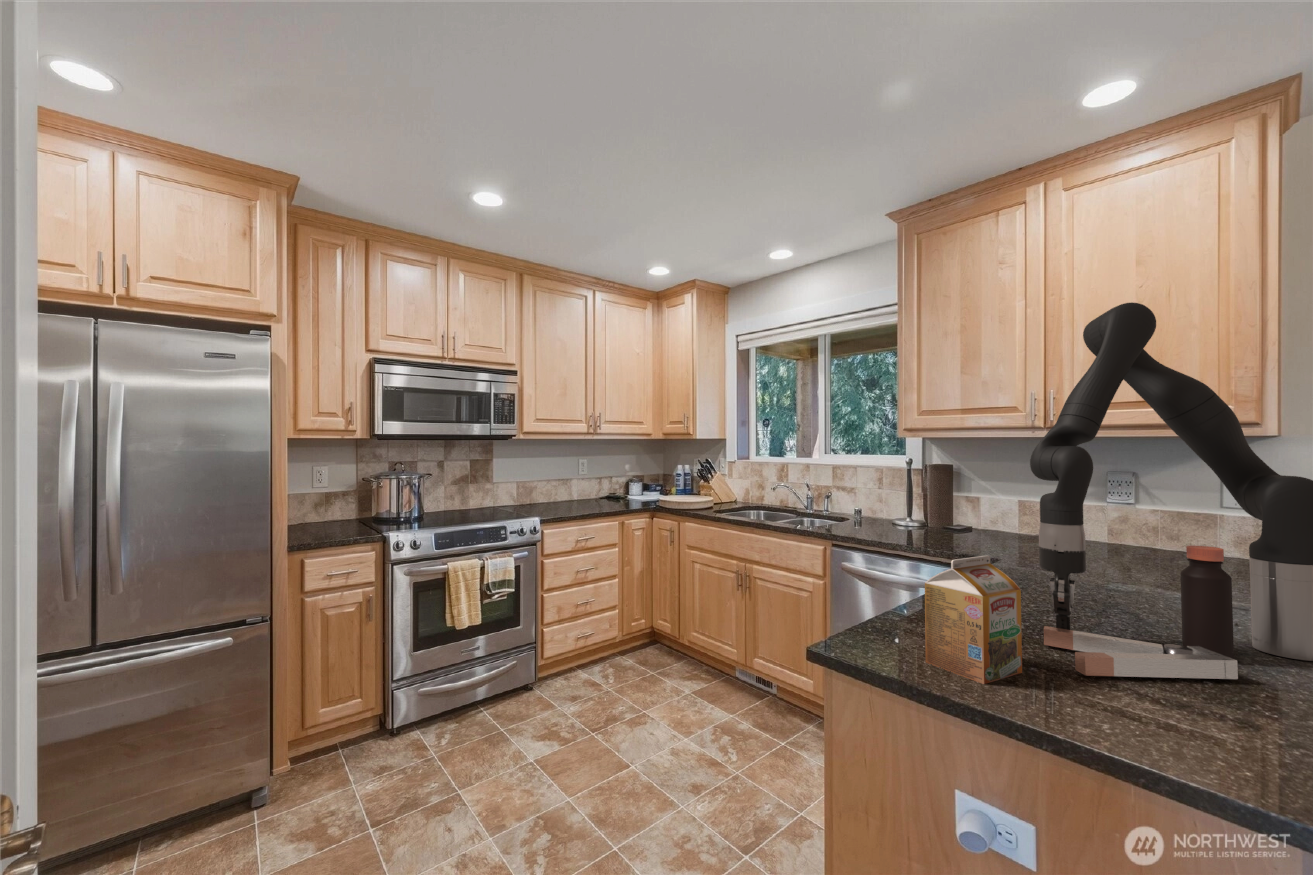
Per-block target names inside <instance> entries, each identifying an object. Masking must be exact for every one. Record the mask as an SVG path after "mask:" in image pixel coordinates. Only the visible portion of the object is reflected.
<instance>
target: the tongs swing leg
mask: <svg viewBox="0 0 1313 875" xmlns="http://www.w3.org/2000/svg"><path fill="white" fill-rule="evenodd" d="M1043 645H1044V646H1050V647H1055V648H1061V649H1064V650H1065V649H1067V650H1072V651H1076V652H1097V653H1143V654H1189V655H1193V650H1192V649H1191V648H1188V647H1185V646H1182V644H1181V645H1179V644H1173V643H1165V644H1164V645H1163V644H1162V643H1161V644H1160V643H1154V642H1150V641H1149V642H1148V641H1143V640H1142V641H1141V640H1135V639H1130V638H1124V637H1116V636H1110V635H1103V634H1098V633H1097V634H1096V633H1092V632H1085V631H1078V630H1074V629H1073V630H1072V629H1070V630H1067V629H1060V628H1056V627H1055V626H1054V627H1053V626H1047V625H1044V626H1043Z"/></svg>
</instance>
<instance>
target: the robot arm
mask: <svg viewBox="0 0 1313 875" xmlns="http://www.w3.org/2000/svg"><path fill="white" fill-rule="evenodd" d="M1156 328H1157V318H1156V316H1155V313H1154V312H1153V311H1152V310H1151V308H1149V307H1148V306H1146V305H1144V304H1142V303H1139V302H1134V301H1133V302H1132V301H1131V302H1125V303H1121V304H1119V305H1116V306H1115V307H1112V308H1110V309H1108V310H1107V311H1105V312H1103V313H1102V314H1100V315H1098V317H1095V318H1094V319H1092V320H1091V321H1090V322H1088V324H1086V326H1084V329H1083V332H1082V334H1083V335H1082V338H1083V342H1084V345H1085V346H1086V348H1088V350H1089V351H1090V352H1091V353H1092V354H1093V355H1094V356H1095V358H1094V359H1093V361H1092V363H1091V365H1090V367H1088V369H1087V371H1086V372H1085V373H1084V374H1083V376H1082V377H1081V378H1080V379H1079V381H1078V382H1077V383H1076V385H1075V386H1074V387H1073V389H1072V390H1071V392H1070V394H1069V395H1068V397H1067V399H1066V400H1065V402H1064V404H1063V406H1062V408H1061V411H1060V413H1059V415H1058V417H1057V420H1056V422H1055V424H1054V425H1053V426H1052V427H1051V428H1050V429H1049V430H1048V431H1047V433H1046V434H1045V435H1044V436H1043V438H1042V439H1041V440H1040V441H1039V442H1038V444H1037V445H1036V446H1035V447H1034V449H1033V451H1032V453H1031V456H1030V459H1029V465H1030V466H1029V467H1030V470H1031V472H1032V474H1033V475H1034V476H1035V478H1037V479H1040V480H1043V481H1052V482H1053V481H1054V482H1057V486H1056V487H1055V488H1056V489H1055V491H1054V492H1049V493H1048V492H1047V493H1044V494H1043V495H1042V496H1041V497H1040V499H1039V518H1040V519H1039V529H1038V530H1039V531H1038V558H1039V559H1038V565H1039V568H1041V569H1042V570H1045V571H1047V572H1049V571H1050V572H1053V573H1054V577H1053V576H1052V577H1050V579H1049V589H1050V590H1051V603H1052V604H1053V613H1054V615H1055V628H1060V629H1067V630H1071V616H1072V614H1073V612H1072V608H1073V606H1074V601H1075V599H1074V598H1075V597H1074V593H1075V590H1076V589H1075V588H1076V580H1075V579H1071V574H1076V575H1077V574H1084V573H1085V572H1086V571H1087V558H1086V557H1087V548H1086V544H1087V543H1086V533H1085V532H1086V531H1085V527H1084V524H1085V522H1084V502H1085V499H1086V496H1087V494H1088V490H1089V487H1090V484H1091V481H1092V478H1093V477H1092V476H1093V473H1094V462H1093V459H1092V456H1091V455H1090V453H1089V451H1087V450H1086V449H1085V448H1083V447H1081V446H1079V445H1082V444H1085V443H1089V442H1091V441H1093V440H1094V439H1095V438H1096V436H1097V434H1098V433H1099V430H1100V428H1101V426H1102V423H1103V421H1104V419H1105V417H1106V414H1107V412H1108V410H1109V409H1110V408H1109V407H1110V406H1111V404H1112V401H1113V399H1114V398H1115V396H1116V394H1117V391H1118V389H1119V388H1120V387H1121V384H1122V382H1123V381H1124V382H1125V383H1126V384H1128V386H1130V387H1131V388H1132V389H1133V391H1135V393H1136V394H1138V396H1140V397H1141V399H1143V400H1144V401H1145V402H1146V403H1147V405H1148V406H1149V407H1150V408H1152V410H1153V411H1154V412H1155V413H1156V414H1157V415H1158V417H1159V418H1160V419H1161V420H1162V421H1163V422H1164V423H1165V424H1166V425H1167V426H1168V427H1169V428H1170V429H1171V431H1172V432H1173V433H1175V434H1176V435H1177V437H1179V438H1180V440H1182V441H1183V442H1184V443H1185V444H1186V445H1187V446H1188V447H1189V448H1190V449H1191V451H1193V453H1195V455H1197V457H1199V459H1200V460H1201V461H1203V462H1204V463H1205V464H1206V466H1208V467H1209V469H1211V470H1212V471H1213V472H1214V474H1215V475H1216V476H1217V478H1218V479H1219V480H1220V481H1221V483H1222V484H1223V486H1224V487H1225V488H1226V489H1227V491H1228V492H1229V493H1230V495H1231V496H1232V497H1233V499H1234V500H1235V502H1236V503H1237V504H1238V505H1239V507H1240V508H1242V510H1243V511H1244V512H1245V513H1246V514H1248V515H1249V516H1251V517H1253V518H1255V519H1257V520H1259V521H1261V534H1260V536H1259V537H1258V539H1256V540H1254V541H1252V542H1250V544H1249V545H1248V546H1249V547H1248V551H1249V552H1248V555H1249V556H1248V559H1249V581H1250V582H1249V585H1250V586H1249V589H1250V590H1249V591H1250V615H1251V616H1250V617H1251V618H1250V619H1251V621H1250V622H1251V623H1250V624H1251V647H1252V648H1254V649H1256V650H1257V651H1260V652H1263V653H1267V654H1270V655H1273V656H1278V657H1282V658H1287V659H1294V660H1300V661H1309V662H1313V479H1310V478H1308V477H1303V476H1296V475H1282V474H1279V473H1278V472H1277V471H1275V470H1274V469H1273V468H1271V466H1269V465H1268V464H1267V463H1265V462H1264V460H1263V459H1261V457H1259V456H1258V455H1257V453H1256V452H1254V450H1253V449H1252V448H1251V447H1250V445H1249V443H1248V441H1247V439H1246V437H1245V434H1244V432H1243V428H1242V426H1241V422H1240V420H1239V419H1238V417H1237V415H1236V413H1235V412H1234V411H1233V410H1232V408H1231V407H1230V406H1229V404H1228V403H1226V402H1225V401H1224V400H1223V399H1222V398H1221V397H1220V395H1218V394H1217V393H1216V392H1215V391H1214V390H1213V389H1212V388H1211V387H1210V386H1208V385H1207V384H1205V383H1204V382H1203V381H1200V380H1198V379H1196V378H1194V377H1192V376H1189V375H1187V374H1185V373H1182V372H1179V371H1178V370H1175V369H1173V368H1171V367H1168V366H1167V365H1164V364H1162V363H1161V362H1159V361H1158V360H1157V359H1155V358H1154V357H1152V356H1151V355H1150V354H1149V353H1148V352H1147V351H1146V349H1145V347H1146V345H1147V344H1148V343H1149V342H1150V340H1151V339H1152V337H1153V335H1154V334H1155V332H1156Z"/></svg>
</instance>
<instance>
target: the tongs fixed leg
mask: <svg viewBox="0 0 1313 875" xmlns="http://www.w3.org/2000/svg"><path fill="white" fill-rule="evenodd" d="M1187 647H1188V648H1191V649H1192V650H1193V655H1189V654H1164V653H1163V654H1143V653H1097V652H1083V651H1075V652H1074V662H1075V664H1074V666H1075V671H1077V672H1079V673H1080V674H1082V675H1084V676H1085V677H1086V676H1091V677H1093V676H1094V677H1131V678H1134V677H1135V678H1136V677H1137V678H1167V679H1168V678H1171V679H1175V678H1176V679H1177V678H1179V679H1209V680H1210V679H1214V680H1215V679H1219V680H1238V679H1239V674H1238V673H1239V671H1238V670H1239V668H1238V660H1237V659H1235V658H1234V659H1232V658H1229V657H1226V656H1224V655H1221V654H1218V653H1216V652H1213V651H1210V650H1208V649H1205V648H1202V647H1200V646H1187Z"/></svg>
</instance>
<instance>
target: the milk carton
mask: <svg viewBox="0 0 1313 875" xmlns="http://www.w3.org/2000/svg"><path fill="white" fill-rule="evenodd" d="M950 567H951V568H948V569H946V570H943V571H940V572H939V573H937V574H935V575H933V576H932V577H929V579H928V580H926V581H925V582H924V628H925V630H924V631H925V632H924V635H925V637H924V638H925V639H924V640H925V642H924V644H925V646H924V647H925V663H926V664H929V665H931V664H932V666H933V667H937V668H939V667H941V668H940V669H942V668H943V669H942V670H944V669H945V671H947V672H950V671H951V672H950V673H952V672H953V673H952V674H955V675H958V676H961V677H964V678H966V679H968V680H972V681H974V682H977V683H980V684H983V685H986V684H989V683H992V682H993V683H994V682H995V681H996V682H997V681H999V680H1003V679H1006V678H1009V677H1012V676H1016V675H1019V674H1022V673H1023V650H1022V649H1023V647H1022V644H1023V643H1022V641H1023V640H1022V638H1023V637H1022V636H1023V635H1022V594H1021V593H1022V591H1021V590H1022V589H1021V588H1020V587H1019V586H1018V584H1016V582H1015V581H1014V580H1013V579H1011V578H1010V577H1009V576H1008V575H1007V574H1006V573H1005V572H1004V571H1002V570H1000V569H999V568H997V567H996V566H995V565H993V564H992V563H991V556H990V555H980V556H973V557H964V558H957V559H952V560H951V562H950Z"/></svg>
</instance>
